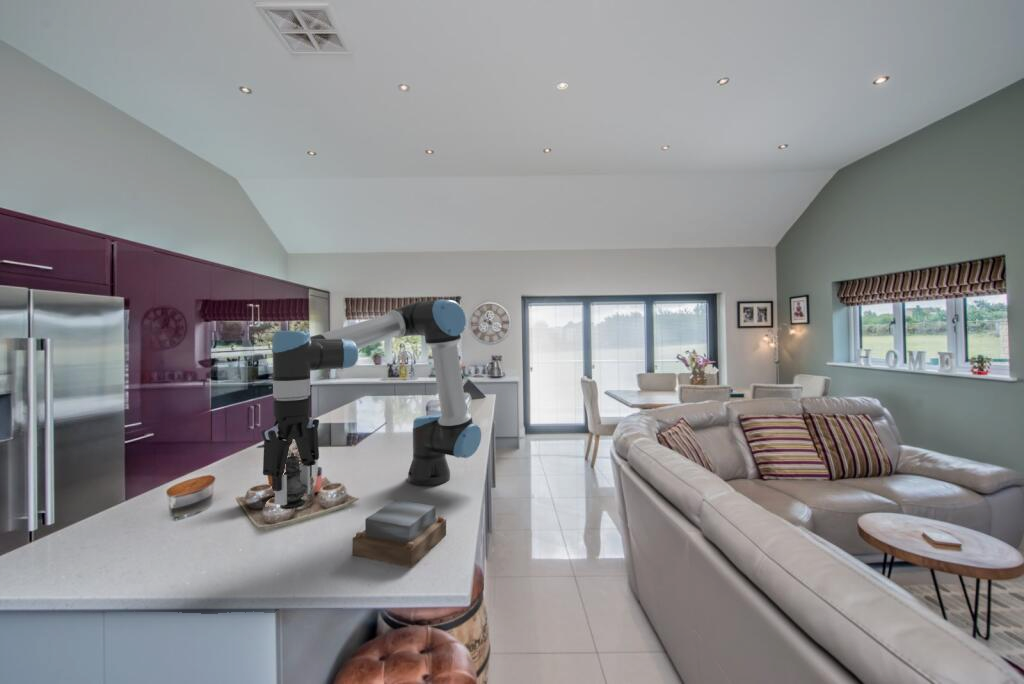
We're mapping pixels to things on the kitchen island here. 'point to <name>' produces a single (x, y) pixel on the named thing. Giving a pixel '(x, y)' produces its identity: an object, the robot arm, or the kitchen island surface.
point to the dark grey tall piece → (294, 484)
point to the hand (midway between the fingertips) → (293, 498)
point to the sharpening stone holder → (400, 533)
